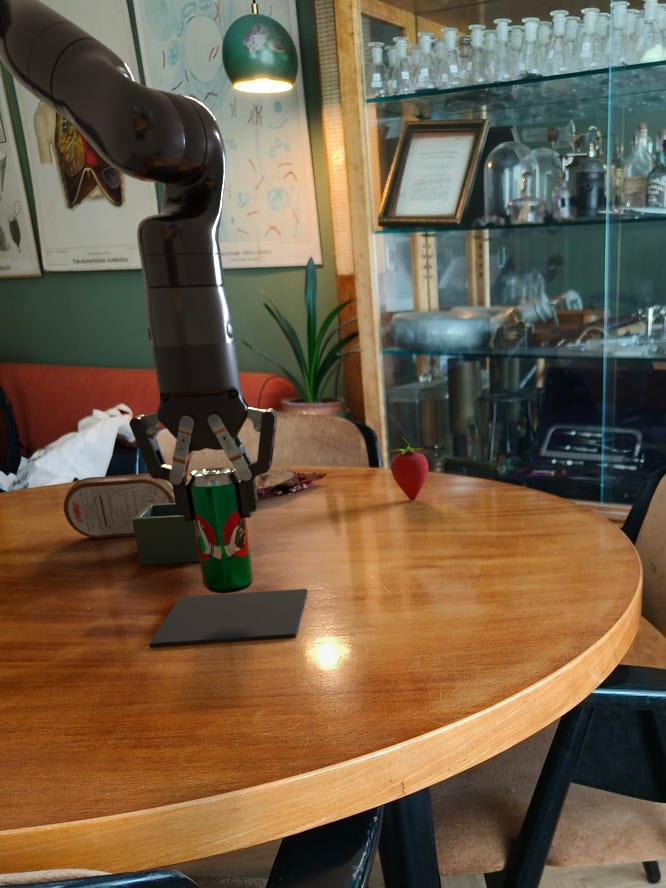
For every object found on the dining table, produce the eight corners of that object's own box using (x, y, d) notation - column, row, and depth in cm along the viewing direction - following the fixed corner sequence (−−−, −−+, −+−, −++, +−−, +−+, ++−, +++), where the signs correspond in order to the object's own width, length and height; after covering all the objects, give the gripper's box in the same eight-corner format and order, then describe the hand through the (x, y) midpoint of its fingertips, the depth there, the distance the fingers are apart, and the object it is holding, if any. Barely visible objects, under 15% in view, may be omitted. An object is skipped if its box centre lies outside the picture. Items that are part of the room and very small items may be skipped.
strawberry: (396, 507, 136) (391, 442, 132) (390, 497, 143) (385, 434, 139) (434, 504, 137) (430, 439, 134) (426, 494, 144) (422, 432, 140)
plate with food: (329, 484, 155) (327, 464, 154) (230, 513, 134) (227, 491, 133) (225, 477, 166) (223, 459, 164) (117, 504, 144) (114, 483, 143)
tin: (182, 528, 129) (173, 470, 125) (180, 533, 126) (170, 474, 123) (73, 537, 126) (60, 478, 123) (68, 543, 123) (55, 483, 120)
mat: (149, 647, 85) (148, 643, 85) (180, 600, 98) (179, 596, 98) (295, 637, 86) (295, 633, 86) (307, 591, 99) (307, 588, 99)
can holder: (140, 565, 111) (131, 519, 109) (155, 547, 119) (148, 504, 117) (206, 561, 112) (199, 515, 110) (217, 544, 120) (211, 500, 117)
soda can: (256, 577, 94) (241, 464, 89) (253, 592, 89) (237, 474, 85) (207, 581, 93) (189, 468, 89) (201, 596, 89) (182, 477, 84)
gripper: (275, 334, 86) (294, 505, 92) (124, 340, 85) (154, 513, 91) (266, 338, 79) (287, 523, 86) (101, 345, 78) (136, 531, 84)
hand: (219, 517), depth 88 cm, fingers closed on soda can, 5 cm apart
